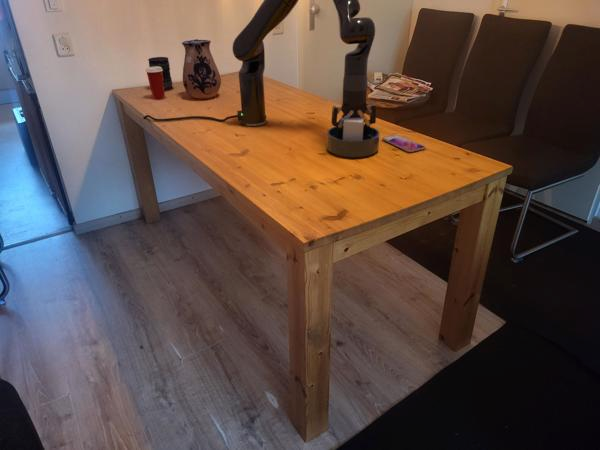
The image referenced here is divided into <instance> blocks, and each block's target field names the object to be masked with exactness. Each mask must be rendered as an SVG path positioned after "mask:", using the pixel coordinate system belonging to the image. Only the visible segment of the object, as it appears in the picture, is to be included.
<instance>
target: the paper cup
mask: <svg viewBox="0 0 600 450" xmlns="http://www.w3.org/2000/svg"><path fill="white" fill-rule="evenodd" d="M162 71H163V70H162V68H161V67H158V66H154V67H149V66H148V67H146V68H145V72H146V76H147V80H148V84H149V88H150V92H151V95H152V100H156V101H158V100H164V99H165V98H166V93H165V92H166V91H164V82H163V73H162Z"/></svg>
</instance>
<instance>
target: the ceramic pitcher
mask: <svg viewBox="0 0 600 450" xmlns="http://www.w3.org/2000/svg"><path fill="white" fill-rule="evenodd" d="M211 42H212V41H211V40H209V39H198V38H196V39H191V40H190V39H189V40H184V41H182V42H181V45H182V46H183V48H184V51H185V52H184V53H185V54H184V62H183V67H182V85H183V87H184V89H185V91H186V92H187V94H188V95H190V96H191V97H192V98H194V99H198V100H204V99H212V98H214V97H215V96H216V95H217V94H218V93H219V91H220V89H221V85H222V77H221V74H220V71H219V69H218V66H217V64H216V62H215V58H214V57H213V55H212V51H211V49H210V48H211V47H210V45H211Z"/></svg>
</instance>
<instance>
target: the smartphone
mask: <svg viewBox="0 0 600 450" xmlns="http://www.w3.org/2000/svg"><path fill="white" fill-rule="evenodd" d="M381 140H382V141H384V142H386V143H389V144H390V145H392V146H395V147H397V148H398V149H400V150H403V151H405V152H407V153H413V152H417V151H422V150H425V149H426V146H424V145H422V144H420V143H417V142H415V141H413V140H412V139H411V140H410V139H408V138H406V137H404V136H401V135H400V134H395V135H394V134H393V135H388V136H383V137H382V138H381Z"/></svg>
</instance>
